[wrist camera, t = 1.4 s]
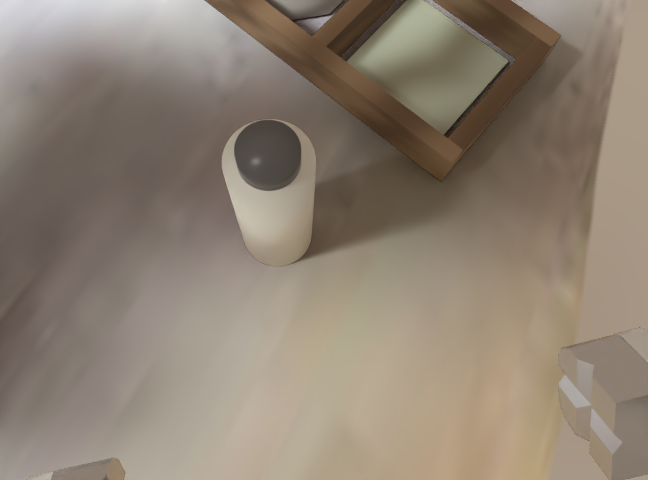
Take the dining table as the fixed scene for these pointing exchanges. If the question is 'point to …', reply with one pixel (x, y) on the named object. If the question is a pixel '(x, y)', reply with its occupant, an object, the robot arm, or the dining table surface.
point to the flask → (304, 7)
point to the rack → (410, 66)
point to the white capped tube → (272, 188)
